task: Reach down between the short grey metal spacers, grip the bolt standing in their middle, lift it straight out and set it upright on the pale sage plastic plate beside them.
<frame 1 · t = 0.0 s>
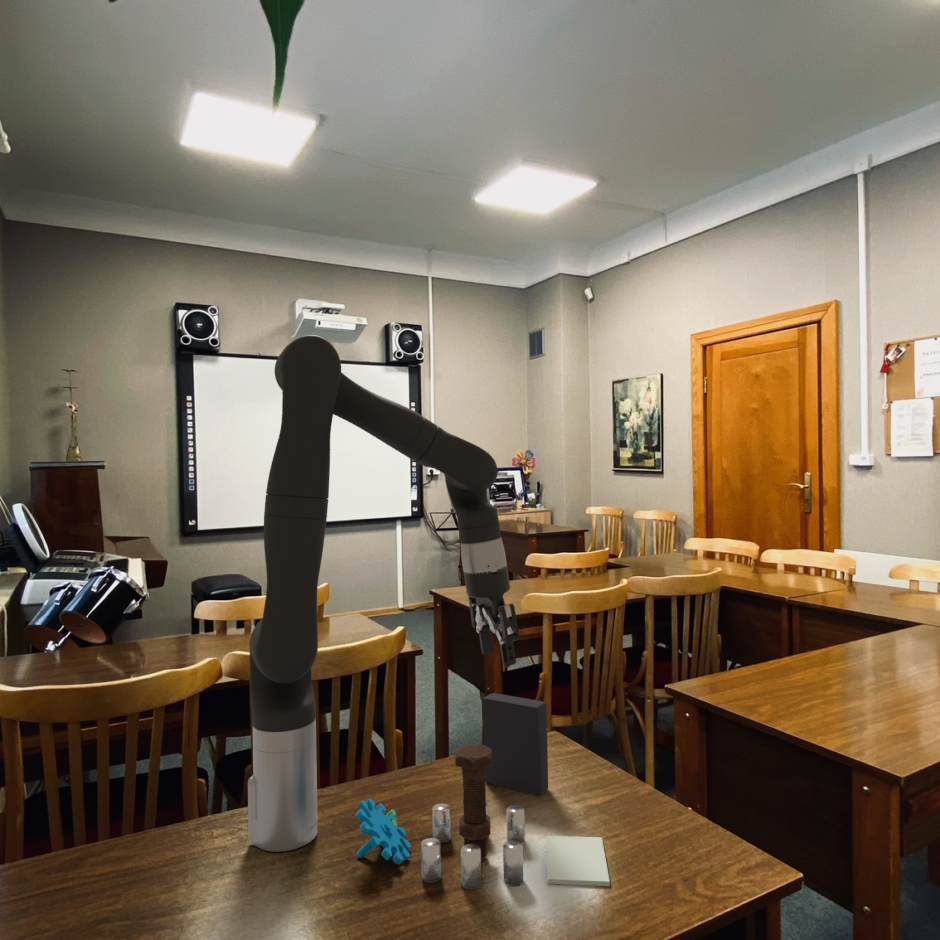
hand: (498, 658, 118), 22 cm above the table, tool pointing down, fingers open, 8 cm apart
dark grey slab: (516, 787, 119), on the table
bolt: (475, 859, 96), on the table
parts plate: (576, 861, 95), on the table
gear: (384, 856, 98), on the table
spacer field: (475, 857, 96), on the table
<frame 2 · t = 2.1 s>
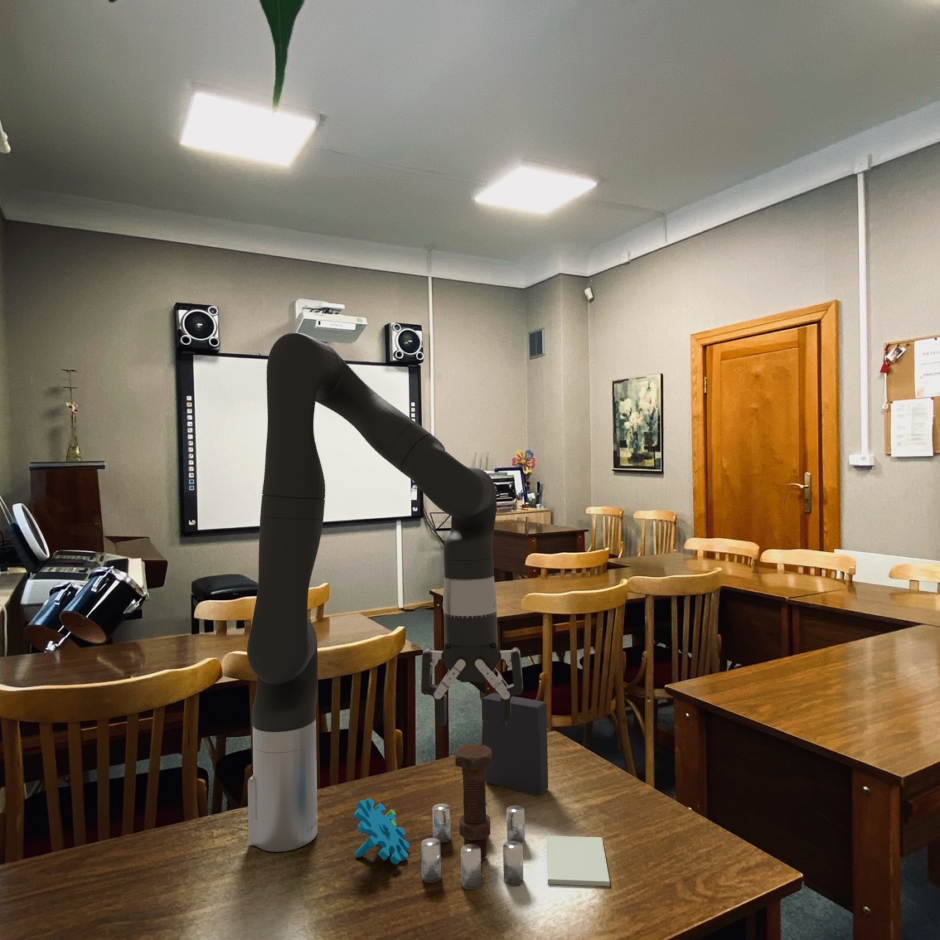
hand: (473, 723, 97), 19 cm above the table, tool pointing down, fingers open, 8 cm apart
nothing on the table moved.
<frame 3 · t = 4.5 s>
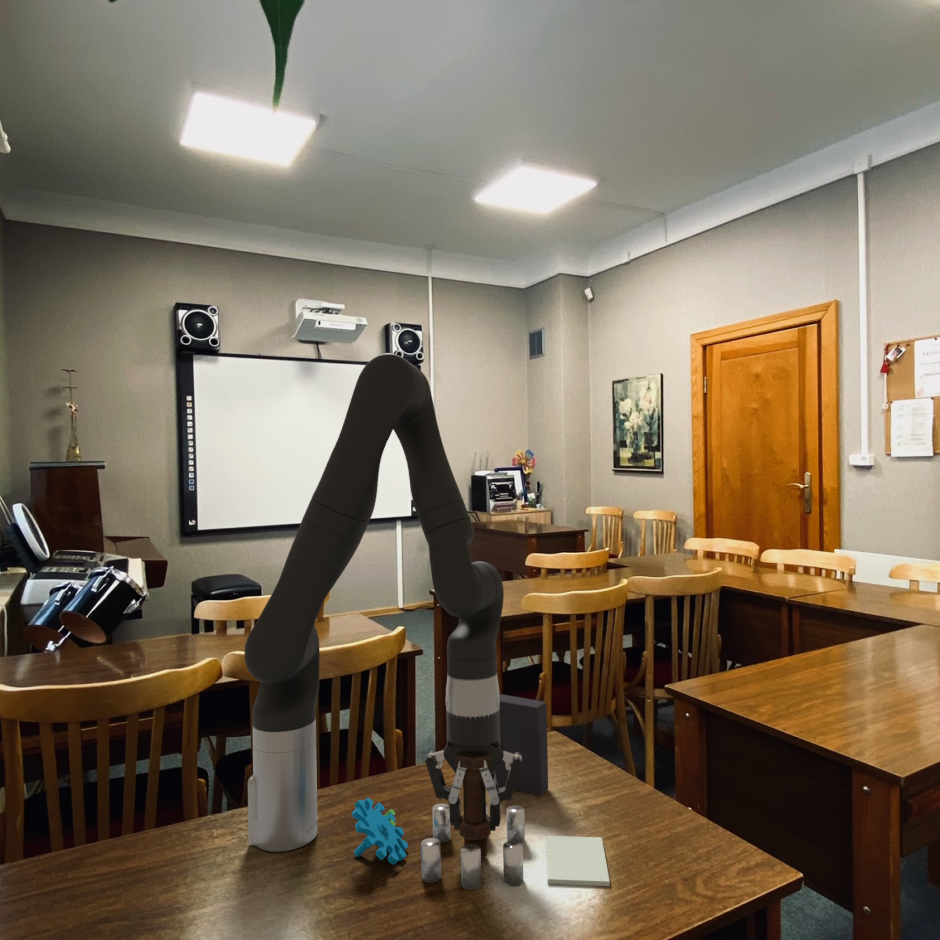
hand: (475, 827, 96), 4 cm above the table, tool pointing down, fingers closed on bolt, 4 cm apart
bolt: (475, 859, 96), on the table, touching gripper
everything else where it was.
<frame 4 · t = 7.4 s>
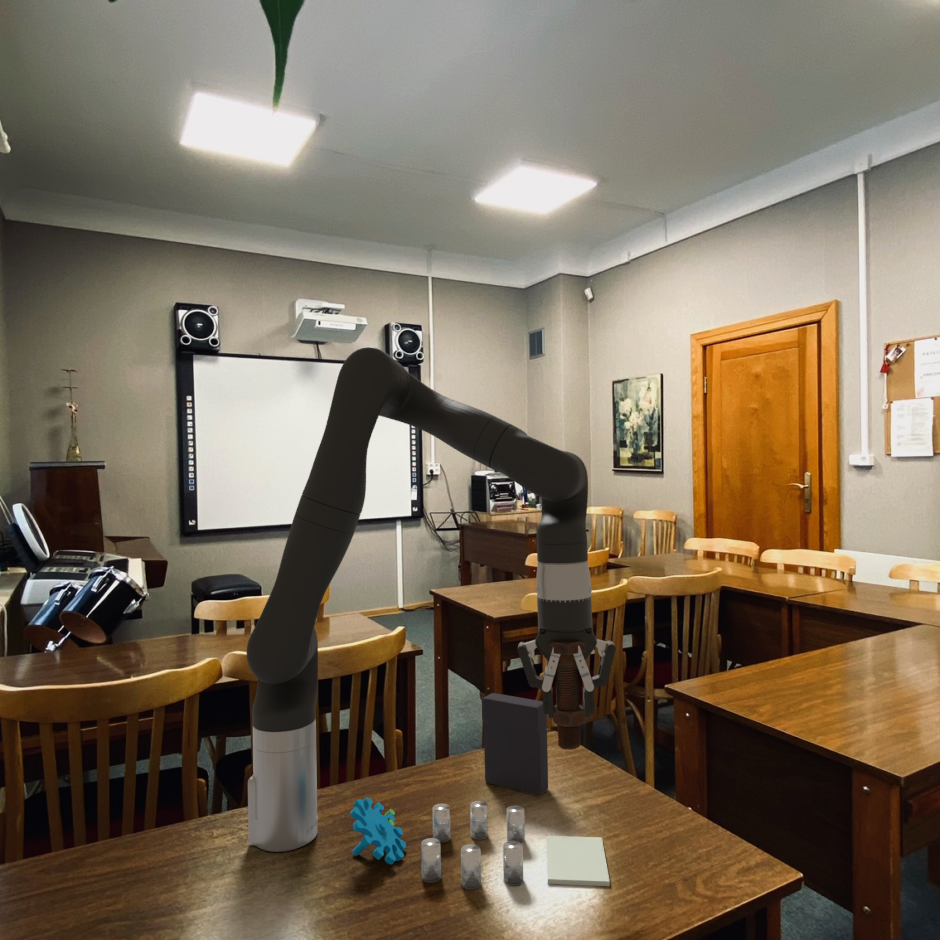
hand: (568, 715, 95), 20 cm above the table, tool pointing down, fingers closed on bolt, 4 cm apart
bolt: (569, 748, 95), point 15 cm above the table, touching gripper
everything else where it was.
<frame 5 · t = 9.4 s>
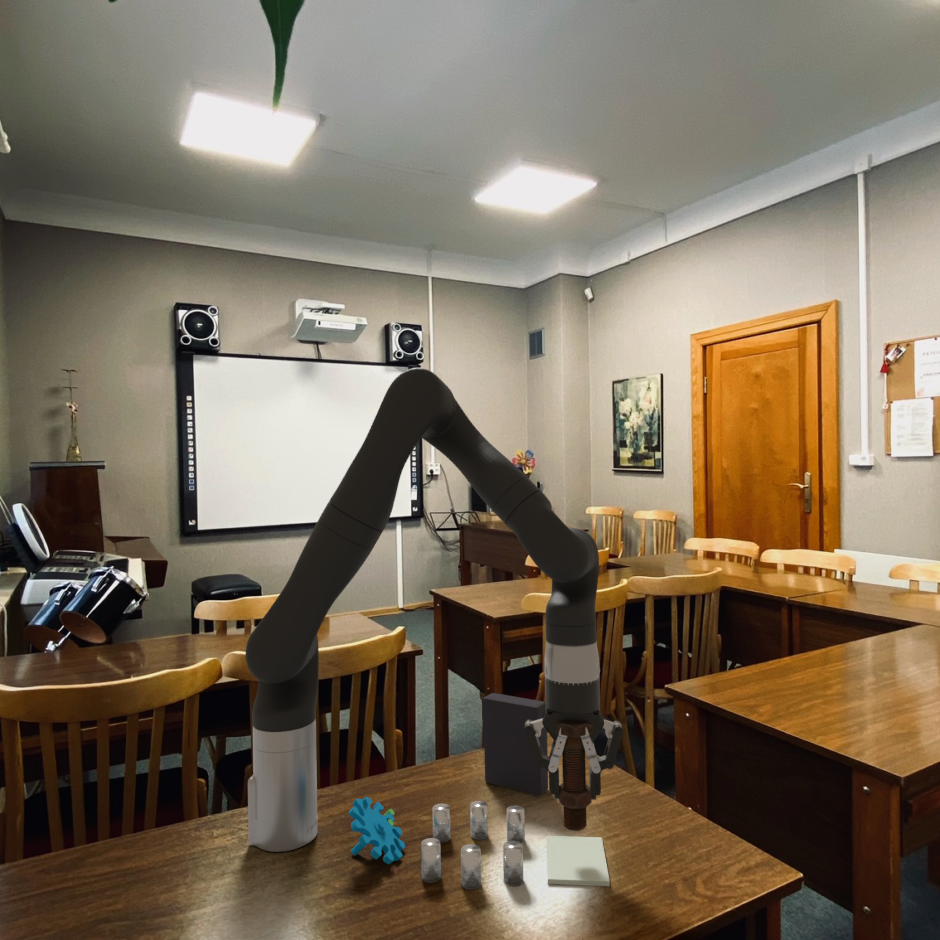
hand: (574, 796, 95), 9 cm above the table, tool pointing down, fingers closed on bolt, 4 cm apart
bolt: (575, 828, 95), point 4 cm above the table, touching gripper
everything else where it was.
when the fingers open (6 cm above the table, at t = 10.8 s): bolt drops 1 cm, resting on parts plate.
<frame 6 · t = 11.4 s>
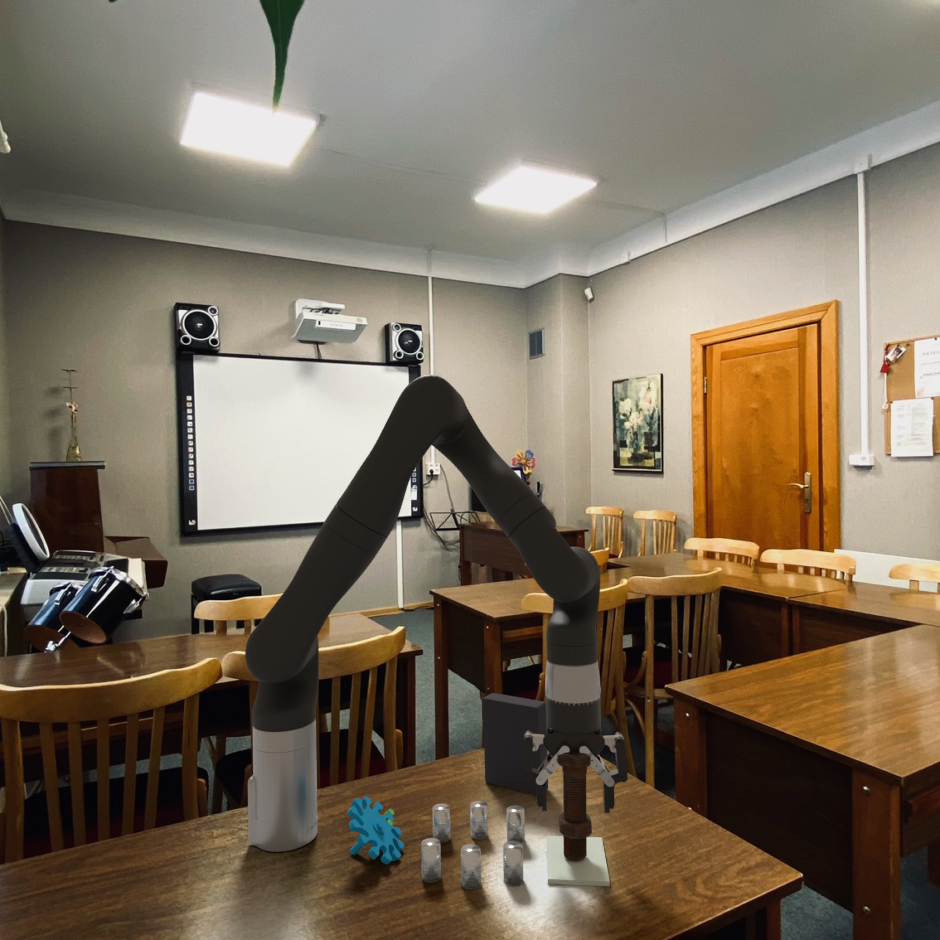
hand: (575, 809, 95), 7 cm above the table, tool pointing down, fingers open, 8 cm apart
bolt: (575, 858, 95), resting on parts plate
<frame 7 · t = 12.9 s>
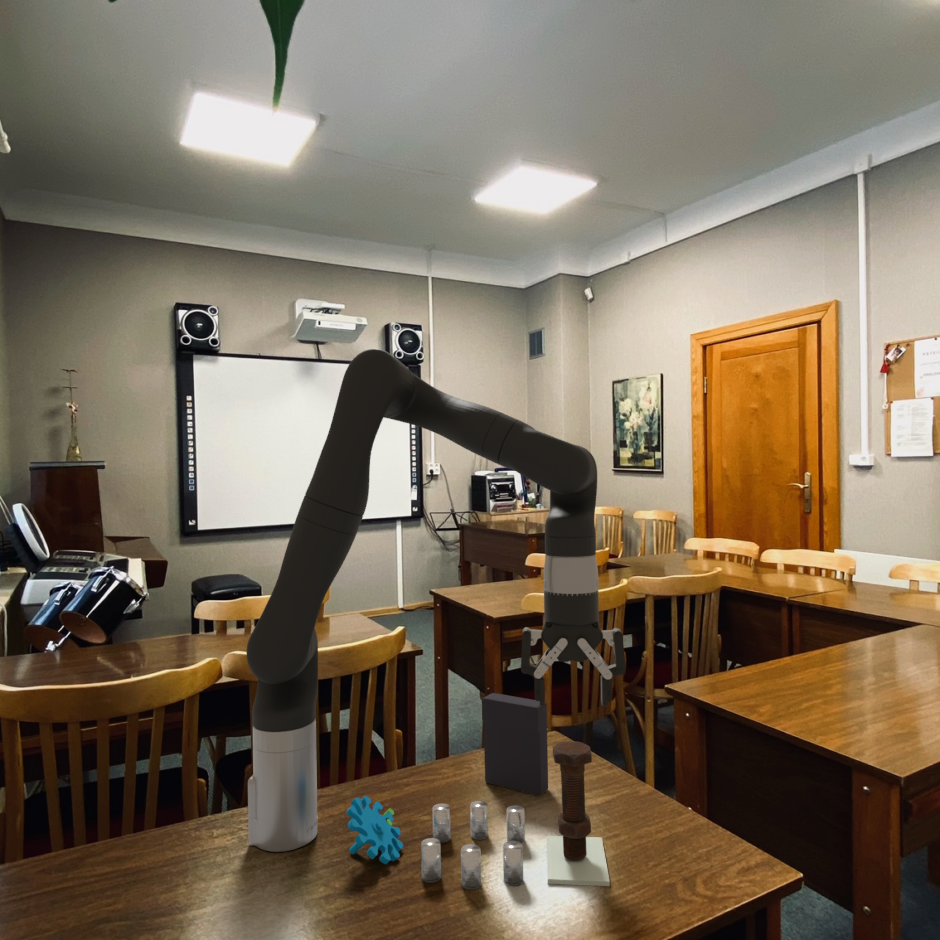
hand: (572, 704, 95), 22 cm above the table, tool pointing down, fingers open, 8 cm apart
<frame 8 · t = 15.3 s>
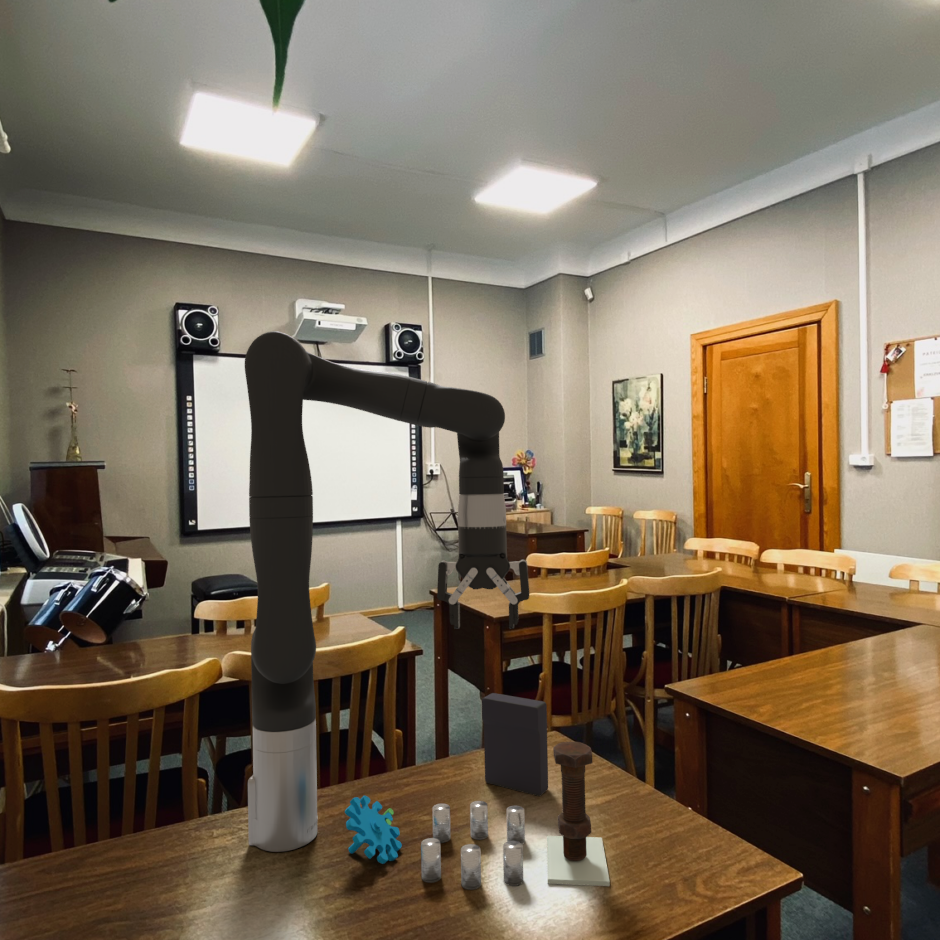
hand: (484, 627, 107), 30 cm above the table, tool pointing down, fingers open, 8 cm apart
at the end: bolt inside the target area on the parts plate (0.2 cm from its centre), point 0.4 cm above the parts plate's base; bolt tilted 0°; the gripper is holding nothing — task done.
